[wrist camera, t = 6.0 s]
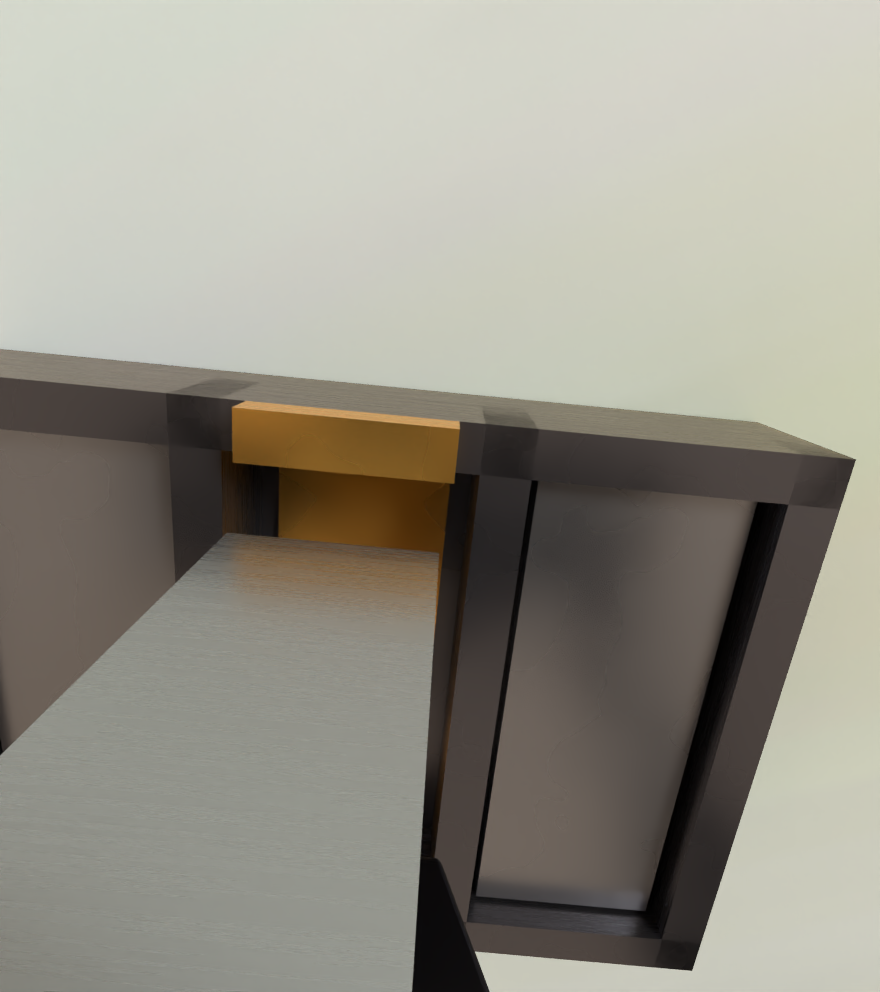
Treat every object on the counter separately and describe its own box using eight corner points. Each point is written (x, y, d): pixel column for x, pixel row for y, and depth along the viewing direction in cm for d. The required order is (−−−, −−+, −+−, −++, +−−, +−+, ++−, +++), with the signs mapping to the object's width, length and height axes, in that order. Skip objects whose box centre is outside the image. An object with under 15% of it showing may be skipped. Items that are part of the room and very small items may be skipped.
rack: (646, 845, 15) (703, 1003, 12) (54, 790, 15) (-66, 935, 12) (757, 422, 12) (883, 469, 8) (-7, 348, 12) (-200, 365, 8)
